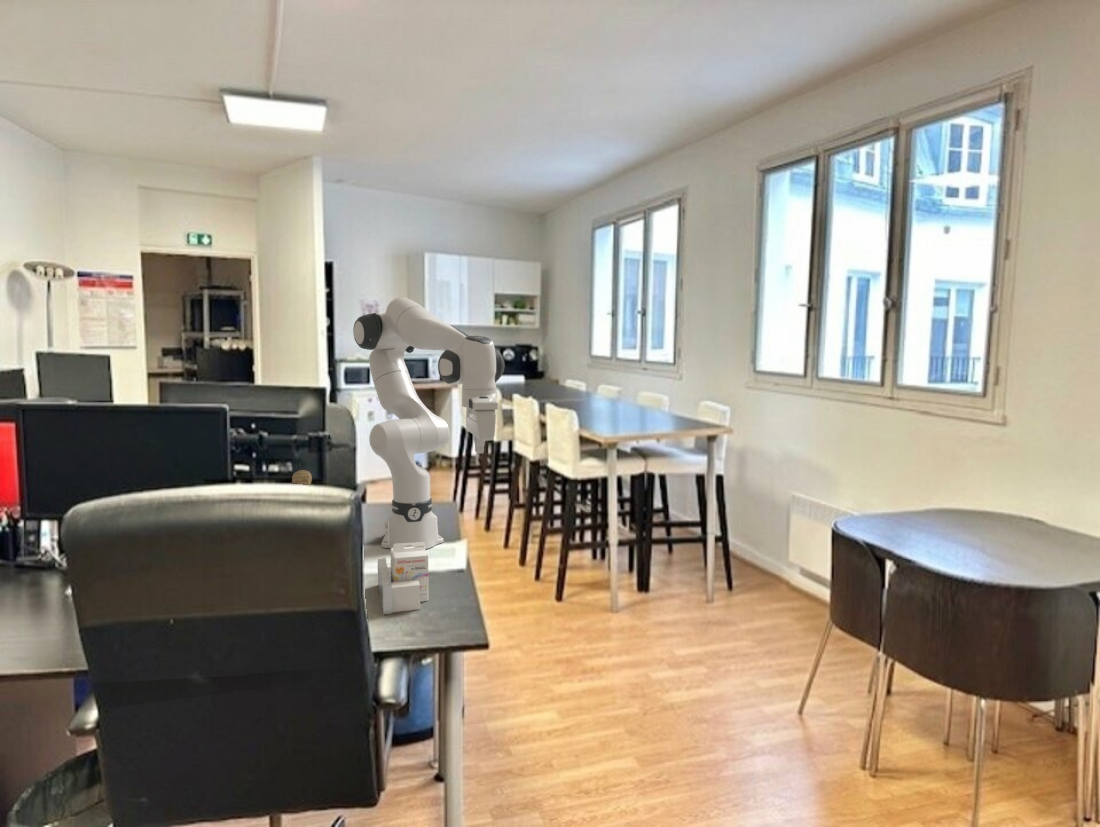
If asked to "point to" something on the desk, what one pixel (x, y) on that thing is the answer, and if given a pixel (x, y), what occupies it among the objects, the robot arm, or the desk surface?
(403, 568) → the ink box
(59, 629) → the desk surface
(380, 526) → the desk surface
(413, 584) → the box
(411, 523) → the robot arm
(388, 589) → the rail
